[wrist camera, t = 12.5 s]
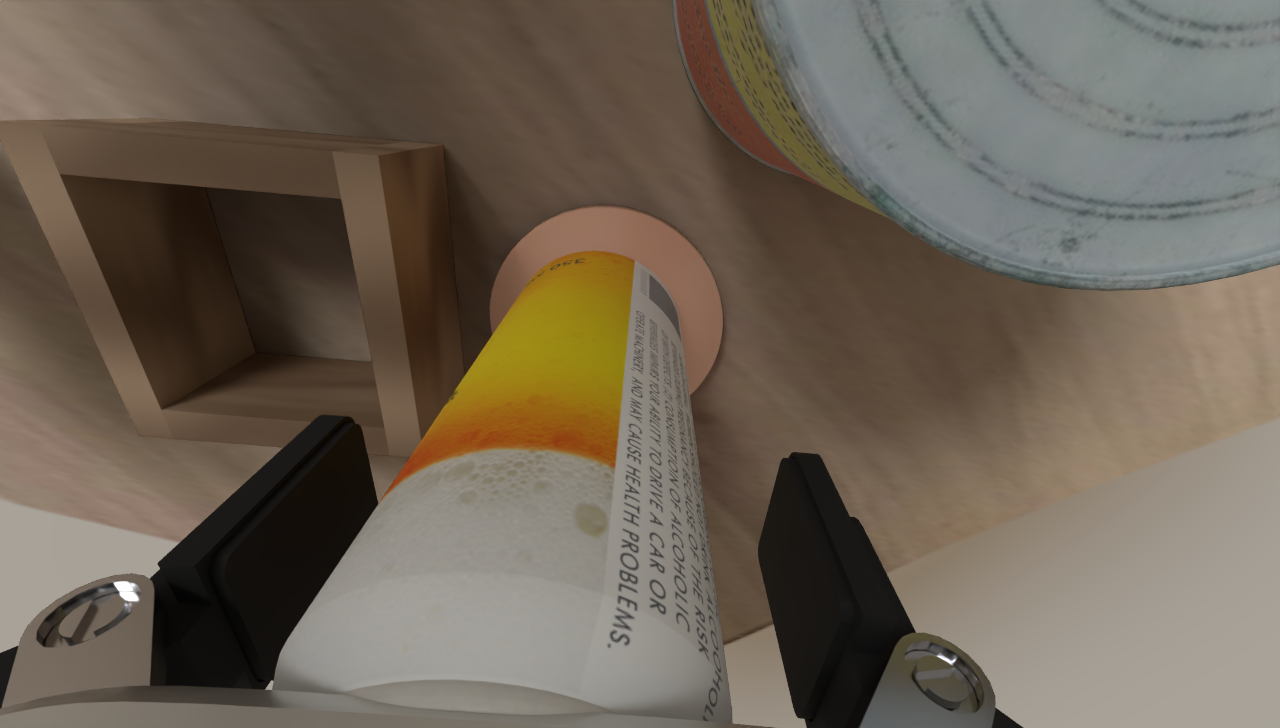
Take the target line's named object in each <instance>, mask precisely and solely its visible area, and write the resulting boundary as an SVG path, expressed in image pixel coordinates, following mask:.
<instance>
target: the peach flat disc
mask: <svg viewBox="0 0 1280 728" xmlns="http://www.w3.org/2000/svg"><path fill="white" fill-rule="evenodd" d="M589 250H599V251H608V252H613V253H617V254H621V255H624V256H627V257H629V258H631V259H633V260H636V261H637V262H639V263H641V264H642V265H644V266H645V267H647V268H648V269H649V270H651V271H652V272H653V273H654V274H655V275H656V276H657V277H658V278H659V279H660V280H661V281H662V282H663V283H664V285H665V286H666V287H667V289H668V291H669V292H670V294H671V296H672V298H673V300H674V302H675V305H676V308H677V311H678V315H679V320H680V328H681V335H682V342H683V350H684V357H685V365H686V372H687V380H688V387H689V394H690V395H691V394H692V393H693V392H694V391H695V390H696V389H697V388H698V387H699V385H700V384H701V383H702V382H703V380H704V379H705V378H706V376H707V374H708V373H709V371H710V369H711V367H712V366H713V364H714V361H715V359H716V356H717V354H718V351H719V347H720V343H721V339H722V329H723V312H722V305H721V300H720V295H719V292H718V289H717V286H716V283H715V280H714V277H713V275H712V273H711V271H710V269H709V267H708V265H707V263H706V261H705V260H704V258H703V257H702V255H701V254H700V252H699V251H698V249H697V248H696V247H695V246H694V245H693V244H692V243H691V242H690V241H689V239H688V238H687V237H685V236H684V235H683V234H682V233H681V232H679V231H678V230H677V229H676V228H675V227H673V226H671V225H670V224H668V223H667V222H665V221H663V220H662V219H660V218H658V217H656V216H653V215H651V214H649V213H647V212H644V211H640V210H637V209H634V208H630V207H624V206H617V205H591V206H583V207H578V208H575V209H571V210H567V211H564V212H562V213H559V214H557V215H555V216H552V217H550V218H549V219H547V220H545V221H544V222H542V223H540V224H539V225H537V226H536V227H535V228H534V229H532V230H531V231H530V232H529V233H528V234H526V235H525V236H524V237H523V238H522V239H521V240H520V242H519V243H518V244H517V245H516V246H515V247H514V248H513V249H512V250H511V252H510V253H509V255H508V256H507V258H506V259H505V261H504V262H503V264H502V266H501V268H500V270H499V272H498V274H497V276H496V279H495V283H494V286H493V289H492V295H491V301H490V324H491V331H492V335H493V333H494V332H495V330H496V329H497V327H498V326H499V324H500V323H501V321H502V320H503V318H504V317H505V316H506V314H507V313H508V311H509V310H510V308H511V307H512V305H513V304H514V302H515V301H516V299H517V298H518V296H519V295H520V293H521V292H522V290H523V289H524V287H525V286H526V284H527V283H528V282H529V280H530V279H531V278H532V277H533V276H534V275H535V274H536V273H537V272H538V271H539V270H540V269H541V268H542V267H544V266H545V265H546V264H548V263H549V262H551V261H553V260H555V259H557V258H559V257H561V256H564V255H567V254H570V253H574V252H580V251H589Z"/></svg>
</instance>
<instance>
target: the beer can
mask: <svg viewBox="0 0 1280 728" xmlns="http://www.w3.org/2000/svg"><path fill="white" fill-rule="evenodd" d="M272 690H278V691H293V692H308V693H324V694H339V695H353V696H356V697H360V698H364V699H368V700H373V701H377V702H381V703H386V704H392V705H398V706H404V707H410V708H420V709H432V710H443V711H457V712H472V713H488V714H506V715H556V714H576V713H588V712H594V713H607V714H620V715H633V716H646V717H659V718H672V719H685V720H698V721H710V722H720V723H731V724H732V706H731V699H730V692H729V684H728V677H727V669H726V662H725V654H724V647H723V640H722V632H721V625H720V617H719V610H718V602H717V595H716V588H715V580H714V573H713V565H712V558H711V550H710V543H709V536H708V528H707V521H706V513H705V506H704V498H703V491H702V484H701V476H700V469H699V461H698V454H697V446H696V439H695V432H694V424H693V417H692V409H691V402H690V394H689V387H688V380H687V372H686V365H685V357H684V350H683V342H682V335H681V328H680V320H679V315H678V311H677V308H676V305H675V302H674V300H673V298H672V296H671V294H670V292H669V291H668V289H667V287H666V286H665V285H664V283H663V282H662V281H661V280H660V279H659V278H658V277H657V276H656V275H655V274H654V273H653V272H652V271H651V270H649V269H648V268H647V267H645V266H644V265H642V264H641V263H639V262H637V261H636V260H633V259H631V258H629V257H627V256H624V255H621V254H617V253H613V252H608V251H599V250H589V251H580V252H574V253H570V254H567V255H564V256H561V257H559V258H557V259H555V260H553V261H551V262H549V263H548V264H546V265H545V266H544V267H542V268H541V269H540V270H539V271H538V272H537V273H536V274H535V275H534V276H533V277H532V278H531V279H530V280H529V282H528V283H527V284H526V286H525V287H524V289H523V290H522V292H521V293H520V295H519V296H518V298H517V299H516V301H515V302H514V304H513V305H512V307H511V308H510V310H509V311H508V313H507V314H506V316H505V317H504V318H503V320H502V321H501V323H500V324H499V326H498V327H497V329H496V330H495V332H494V333H493V335H492V336H491V338H490V339H489V341H488V342H487V344H486V345H485V347H484V348H483V350H482V351H481V353H480V354H479V356H478V357H477V359H476V360H475V362H474V363H473V364H472V366H471V367H470V369H469V370H468V372H467V373H466V375H465V376H464V378H463V379H462V381H461V382H460V384H459V385H458V387H457V388H456V390H455V391H454V393H453V394H452V396H451V397H450V399H449V400H448V402H447V403H446V405H445V406H444V408H443V409H442V410H441V412H440V413H439V415H438V416H437V418H436V419H435V421H434V422H433V424H432V425H431V427H430V428H429V430H428V431H427V433H426V434H425V436H424V437H423V439H422V440H421V442H420V443H419V445H418V446H417V448H416V449H415V451H414V452H413V454H412V455H411V456H410V458H409V459H408V461H407V462H406V464H405V465H404V467H403V468H402V470H401V471H400V473H399V474H398V476H397V477H396V479H395V480H394V482H393V483H392V485H391V486H390V488H389V489H388V491H387V492H386V494H385V495H384V497H383V498H382V500H381V501H380V502H379V504H378V505H377V507H376V508H375V510H374V511H373V513H372V514H371V516H370V517H369V519H368V520H367V522H366V523H365V525H364V526H363V528H362V529H361V531H360V532H359V534H358V535H357V537H356V538H355V540H354V541H353V543H352V544H351V546H350V547H349V549H348V550H347V551H346V553H345V554H344V556H343V557H342V559H341V560H340V562H339V563H338V565H337V566H336V568H335V569H334V571H333V572H332V574H331V575H330V577H329V578H328V580H327V581H326V583H325V584H324V586H323V587H322V589H321V590H320V592H319V593H318V595H317V596H316V597H315V599H314V600H313V602H312V603H311V605H310V606H309V608H308V609H307V611H306V612H305V614H304V615H303V617H302V618H301V620H300V621H299V623H298V624H297V626H296V627H295V629H294V630H293V632H292V633H291V635H290V636H289V638H288V639H287V641H286V643H285V645H284V647H283V648H282V650H281V652H280V655H279V659H278V662H277V666H276V670H275V677H274V684H273V689H272Z"/></svg>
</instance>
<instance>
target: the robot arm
mask: <svg viewBox="0 0 1280 728" xmlns="http://www.w3.org/2000/svg"><path fill="white" fill-rule="evenodd" d="M377 505H378V501H377V496H376V491H375V487H374V482H373V477H372V473H371V468H370V463H369V459H368V454H367V449H366V445H365V440H364V436H363V431H362V428H361V426H360V425H359V424H355V421H354V420H353V418H352V417H349V416H338V415H326V414H324V415H320V416H318V417H317V418H316V419H314V420H313V421H312V422H311V423H310V424H309V425H308V426H307V427H306V428H305V429H304V430H302V431H301V432H300V433H299V434H298V435H297V436H296V437H295V438H294V439H293V440H292V441H290V442H289V443H288V444H287V445H286V446H285V447H284V448H283V449H282V450H281V451H280V452H278V453H277V454H276V455H275V456H274V457H273V458H272V459H271V460H270V461H269V462H267V463H266V464H265V465H264V466H263V467H262V468H261V469H260V470H259V471H258V472H257V473H255V474H254V475H253V476H252V477H251V478H250V479H249V480H248V481H247V482H246V483H245V484H243V485H242V486H241V487H240V488H239V489H238V490H237V491H236V492H235V493H234V494H232V495H231V496H230V497H229V498H228V499H227V500H226V501H225V502H224V503H223V504H222V505H220V506H219V507H218V508H217V509H216V510H215V511H214V512H213V513H212V514H211V515H210V516H208V517H207V518H206V519H205V520H204V521H203V522H202V523H201V524H200V525H199V526H198V527H196V528H195V529H194V530H193V531H192V532H191V533H190V534H189V535H188V536H187V537H185V538H184V539H183V540H182V541H181V542H180V543H179V544H178V545H177V546H176V547H175V548H173V549H172V551H171V552H169V553H168V554H167V555H166V556H165V557H164V558H163V559H162V560H161V561H159V562H158V565H159V567H160V570H159V571H158V572H156V574H154V575H153V576H152V577H151V578H150V579H149V578H147V577H146V576H144V575H138V574H132V573H131V574H121V575H114V576H110V577H106V578H103V579H99V580H96V581H93V582H91V583H88V584H86V585H84V586H81V587H79V588H76V589H75V590H73V591H71V592H69V593H68V594H66V595H64V596H62V597H61V598H59V599H57V600H56V601H54V602H53V603H52V604H50V605H49V606H48V607H46V608H45V609H44V610H42V611H41V612H40V613H39V614H38V615H37V616H36V617H35V618H34V619H33V621H31V623H30V624H29V625H28V626H27V628H26V630H25V631H24V633H23V635H22V637H21V639H20V643H19V646H16V647H14V648H11V649H9V650H7V651H4V652H2V653H0V728H773V727H762V726H751V725H741V724H731V723H720V722H710V721H698V720H685V719H672V718H659V717H646V716H633V715H620V714H607V713H594V712H588V713H576V714H556V715H506V714H488V713H472V712H457V711H443V710H432V709H420V708H410V707H404V706H398V705H392V704H386V703H381V702H377V701H373V700H368V699H364V698H360V697H356V696H353V695H339V694H324V693H308V692H293V691H278V690H265V689H266V687H267V686H268V684H269V683H270V681H271V680H273V681H274V677H275V670H276V666H277V662H278V659H279V655H280V652H281V650H282V648H283V647H284V645H285V643H286V641H287V639H288V638H289V636H290V635H291V633H292V632H293V630H294V629H295V627H296V626H297V624H298V623H299V621H300V620H301V618H302V617H303V615H304V614H305V612H306V611H307V609H308V608H309V606H310V605H311V603H312V602H313V600H314V599H315V597H316V596H317V595H318V593H319V592H320V590H321V589H322V587H323V586H324V584H325V583H326V581H327V580H328V578H329V577H330V575H331V574H332V572H333V571H334V569H335V568H336V566H337V565H338V563H339V562H340V560H341V559H342V557H343V556H344V554H345V553H346V551H347V550H348V549H349V547H350V546H351V544H352V543H353V541H354V540H355V538H356V537H357V535H358V534H359V532H360V531H361V529H362V528H363V526H364V525H365V523H366V522H367V520H368V519H369V517H370V516H371V514H372V513H373V511H374V510H375V508H376V507H377ZM758 557H759V563H760V567H761V572H762V576H763V580H764V584H765V589H766V593H767V597H768V601H769V606H770V610H771V614H772V618H773V623H774V627H775V631H776V635H777V639H778V644H779V648H780V652H781V656H782V661H783V665H784V669H785V673H786V678H787V682H788V687H789V691H790V695H791V699H792V703H793V708H794V711H795V714H796V716H797V717H798V718H804V719H805V722H806V726H807V728H1023V727H1022V726H1020V725H1019V724H1017V723H1016V722H1015V721H1013V720H1012V719H1010V718H1009V717H1008V716H1006V715H1005V714H1004V713H1002V712H1000V711H999V710H998V709H997V708H996V707H995V694H994V692H993V689H992V686H991V683H990V681H989V680H988V679H987V677H986V676H985V674H984V672H983V671H982V669H981V668H980V667H979V666H978V665H977V664H976V663H975V662H974V660H973V659H972V658H971V657H970V656H969V655H968V654H966V653H965V652H963V651H962V650H961V649H959V648H958V647H957V646H955V645H954V644H952V643H950V642H948V641H946V640H944V639H942V638H940V637H938V636H934V635H931V634H927V633H916V632H915V630H914V628H913V626H912V624H911V622H910V620H909V618H908V616H907V614H906V612H905V610H904V608H903V606H902V604H901V602H900V600H899V598H898V596H897V594H896V592H895V590H894V588H893V586H892V584H891V582H890V580H889V578H888V576H887V574H886V572H885V570H884V568H883V566H882V564H881V562H880V560H879V558H878V556H877V554H876V552H875V550H874V548H873V546H872V544H871V542H870V540H869V538H868V536H867V534H866V532H865V530H864V528H863V526H862V525H861V523H860V522H859V520H858V519H856V518H855V517H850V516H849V514H848V512H847V510H846V508H845V506H844V504H843V502H842V500H841V497H840V495H839V493H838V491H837V489H836V487H835V485H834V483H833V481H832V479H831V477H830V475H829V473H828V471H827V469H826V466H825V464H824V462H823V460H822V458H821V457H820V455H818V454H810V453H798V452H793V453H791V455H790V456H789V458H783V459H782V460H781V463H780V466H779V470H778V474H777V477H776V481H775V485H774V489H773V492H772V496H771V500H770V504H769V507H768V511H767V515H766V519H765V522H764V526H763V530H762V534H761V537H760V541H759V546H758Z"/></svg>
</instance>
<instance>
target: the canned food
mask: <svg viewBox="0 0 1280 728" xmlns="http://www.w3.org/2000/svg"><path fill="white" fill-rule="evenodd" d="M672 3H673V15H674V24H675V29H676V35H677V41H678V45H679V49H680V53H681V57H682V60H683V63H684V66H685V69H686V72H687V74H688V77H689V80H690V82H691V84H692V86H693V88H694V91H695V93H696V95H697V97H698V99H699V100H700V102H701V104H702V105H703V107H704V109H705V110H706V112H707V113H708V115H709V116H710V117H711V119H712V120H713V121H714V123H715V124H716V126H717V127H718V128H719V129H720V130H721V131H722V132H723V133H724V134H725V135H726V137H727V138H728V139H730V140H731V141H732V142H733V143H734V144H735V145H736V146H737V147H739V148H740V149H741V150H742V151H744V152H745V153H747V154H748V155H750V156H751V157H752V158H754V159H756V160H758V161H759V162H761V163H763V164H765V165H767V166H769V167H771V168H774V169H776V170H779V171H781V172H784V173H787V174H791V175H794V176H798V177H800V178H802V179H804V180H807V181H809V182H811V183H813V184H815V185H817V186H820V187H822V188H824V189H826V190H828V191H830V192H833V193H835V194H837V195H839V196H841V197H843V198H846V199H848V200H850V201H852V202H854V203H856V204H859V205H861V206H863V207H865V208H867V209H869V210H871V211H874V212H876V213H878V214H880V215H882V216H884V217H887V218H889V219H891V220H892V221H894V222H895V223H896V224H898V225H899V226H900V227H902V228H903V229H905V230H906V231H907V232H909V233H910V234H911V235H913V236H915V237H917V238H919V239H920V240H922V241H924V242H926V243H928V244H929V245H931V246H933V247H935V248H936V249H938V250H940V251H942V252H944V253H946V254H948V255H950V256H952V257H954V258H956V259H959V260H961V261H964V262H966V263H969V264H971V265H974V266H976V267H978V268H981V269H983V270H986V271H988V272H992V273H996V274H999V275H1003V276H1006V277H1010V278H1013V279H1017V280H1020V281H1024V282H1030V283H1036V284H1041V285H1047V286H1053V287H1059V288H1068V289H1084V290H1099V291H1117V290H1148V289H1157V288H1166V287H1174V286H1183V285H1192V284H1197V283H1202V282H1207V281H1212V280H1218V279H1223V278H1228V277H1233V276H1238V275H1242V274H1246V273H1249V272H1253V271H1257V270H1260V269H1264V268H1268V267H1271V266H1275V265H1279V264H1280V0H672Z"/></svg>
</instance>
